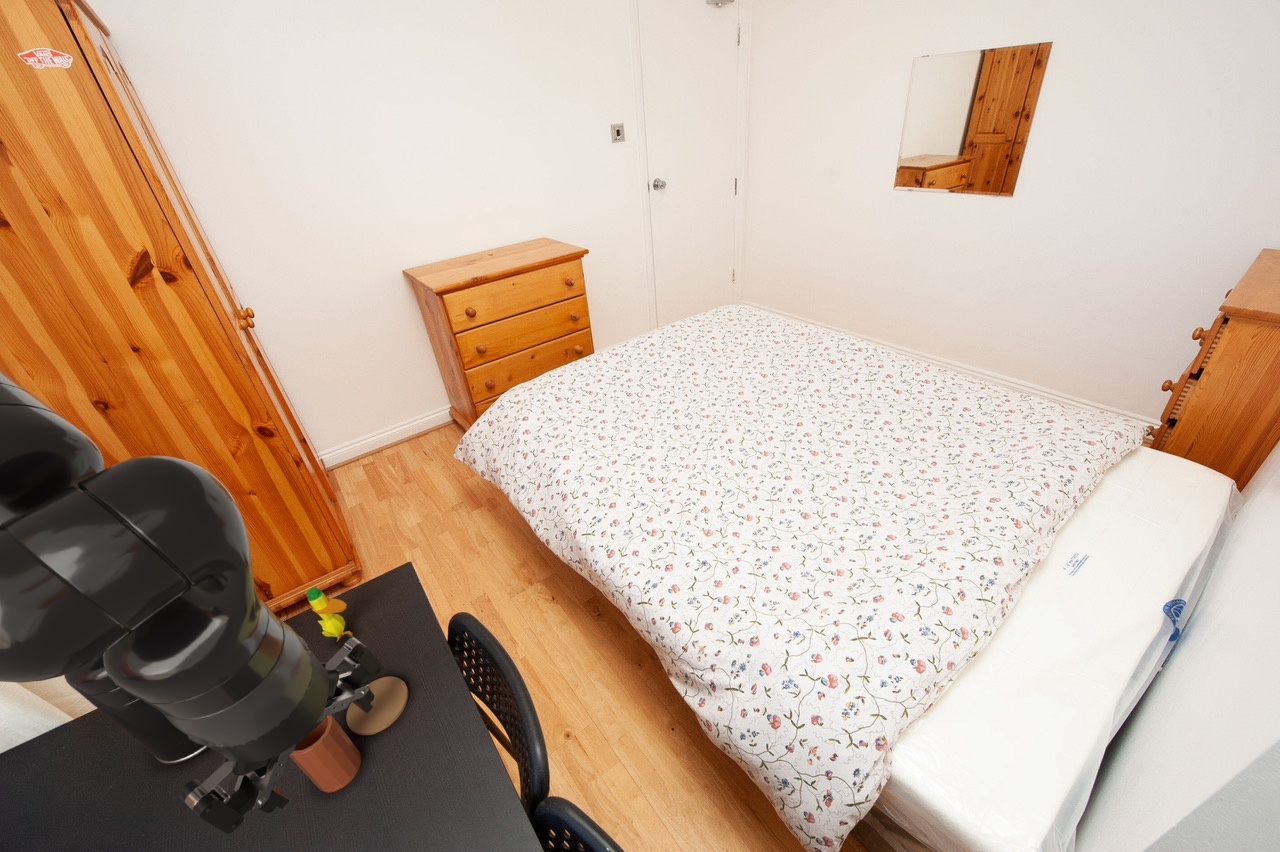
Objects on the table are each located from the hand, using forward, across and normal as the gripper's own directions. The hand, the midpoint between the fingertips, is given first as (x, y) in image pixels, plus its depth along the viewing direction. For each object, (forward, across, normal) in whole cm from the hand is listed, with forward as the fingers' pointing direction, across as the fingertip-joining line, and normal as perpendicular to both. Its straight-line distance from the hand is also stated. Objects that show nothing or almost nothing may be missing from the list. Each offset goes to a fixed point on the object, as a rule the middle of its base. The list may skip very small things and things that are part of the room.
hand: (323, 748), depth 46 cm
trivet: (+28, -8, -12) cm, 32 cm away
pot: (+27, 0, -9) cm, 29 cm away
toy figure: (+33, -12, -26) cm, 44 cm away
